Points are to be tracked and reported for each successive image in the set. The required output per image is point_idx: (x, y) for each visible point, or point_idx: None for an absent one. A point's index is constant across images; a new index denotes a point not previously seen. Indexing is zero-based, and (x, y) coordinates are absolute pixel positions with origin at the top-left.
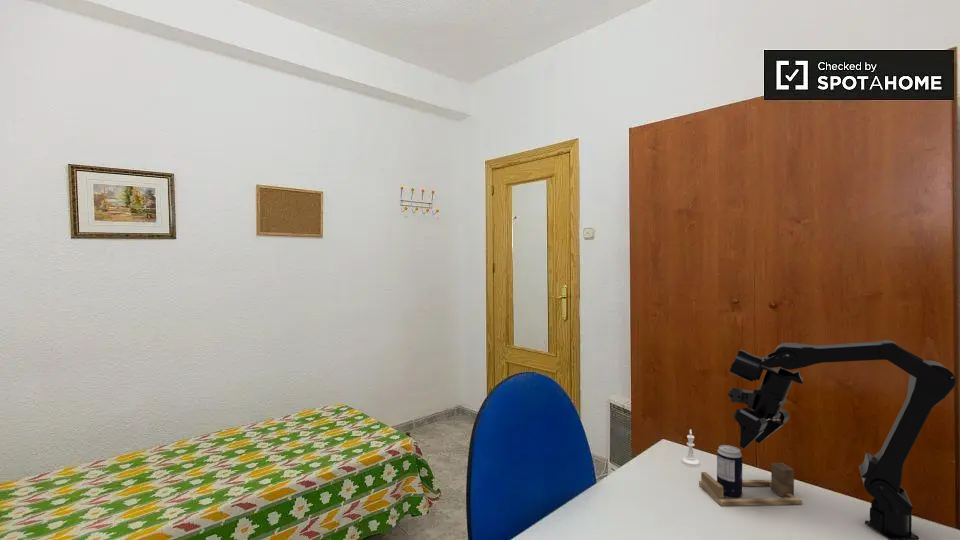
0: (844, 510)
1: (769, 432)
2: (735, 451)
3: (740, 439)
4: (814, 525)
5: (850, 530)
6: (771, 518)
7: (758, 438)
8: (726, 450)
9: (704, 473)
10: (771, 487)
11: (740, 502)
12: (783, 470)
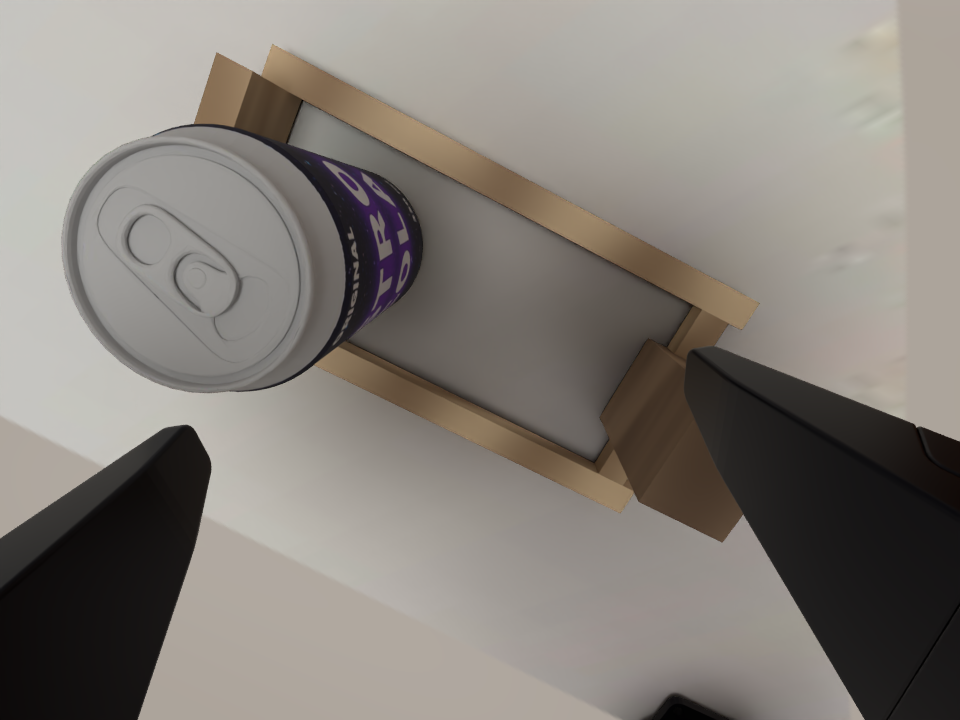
0: (735, 615)
1: (822, 618)
2: (213, 341)
3: (71, 496)
4: (461, 599)
5: (556, 681)
6: (340, 482)
7: (714, 402)
8: (137, 264)
9: (220, 85)
10: (651, 341)
11: None
12: (645, 503)
